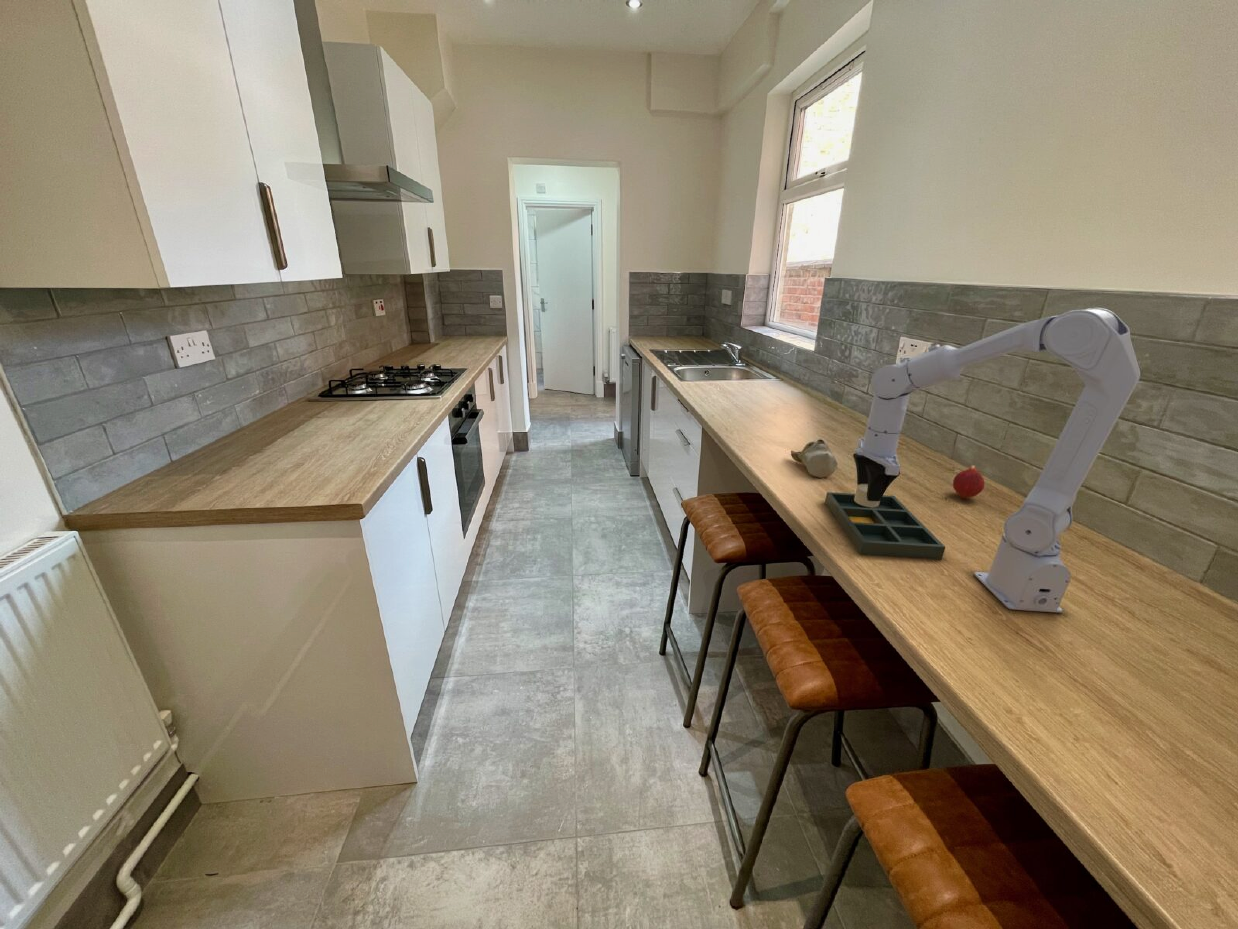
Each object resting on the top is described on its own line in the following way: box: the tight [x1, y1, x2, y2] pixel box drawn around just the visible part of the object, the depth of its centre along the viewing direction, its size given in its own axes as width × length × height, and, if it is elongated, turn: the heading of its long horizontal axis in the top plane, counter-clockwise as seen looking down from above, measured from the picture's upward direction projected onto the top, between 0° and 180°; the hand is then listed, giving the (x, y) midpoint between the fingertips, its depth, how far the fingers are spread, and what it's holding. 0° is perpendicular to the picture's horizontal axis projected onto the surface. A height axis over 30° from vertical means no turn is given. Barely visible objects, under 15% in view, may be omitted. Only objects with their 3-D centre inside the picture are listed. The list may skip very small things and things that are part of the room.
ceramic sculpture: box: [790, 439, 839, 479], centre depth 125 cm, size 11×9×15 cm
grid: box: [824, 491, 946, 560], centre depth 98 cm, size 21×14×3 cm
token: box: [854, 484, 880, 507], centre depth 96 cm, size 4×4×3 cm
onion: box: [952, 465, 985, 499], centre depth 111 cm, size 6×6×8 cm
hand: (868, 494), depth 96 cm, fingers closed on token, 4 cm apart
